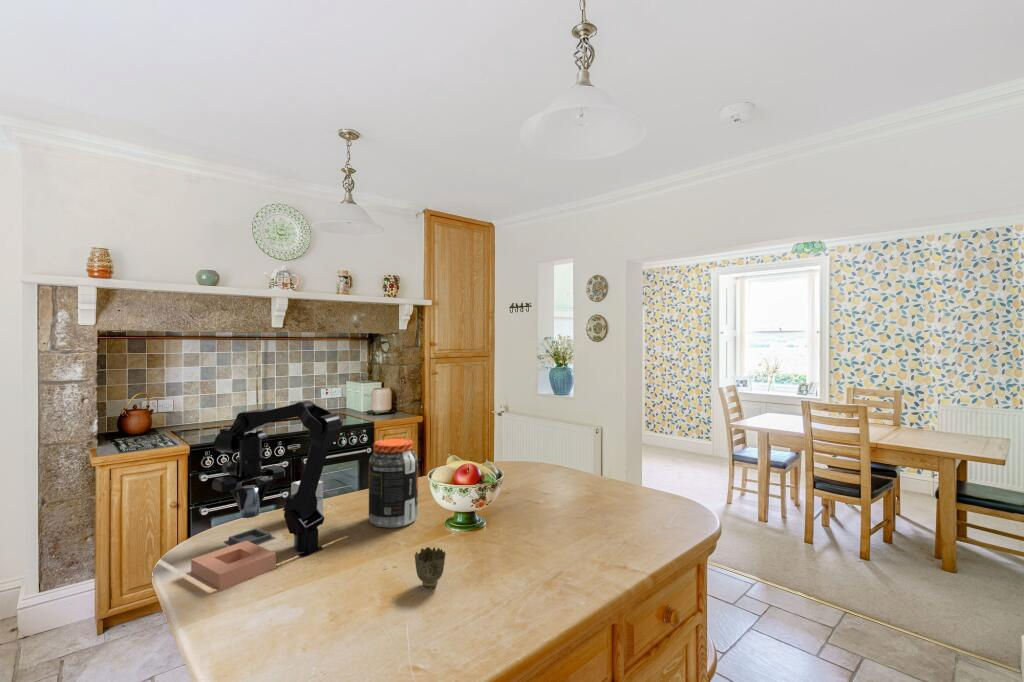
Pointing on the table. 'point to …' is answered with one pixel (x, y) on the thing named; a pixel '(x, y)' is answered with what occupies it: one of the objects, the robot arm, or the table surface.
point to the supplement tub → (393, 483)
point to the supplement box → (318, 494)
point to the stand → (250, 537)
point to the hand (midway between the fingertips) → (250, 507)
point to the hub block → (233, 564)
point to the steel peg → (251, 502)
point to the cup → (430, 566)
